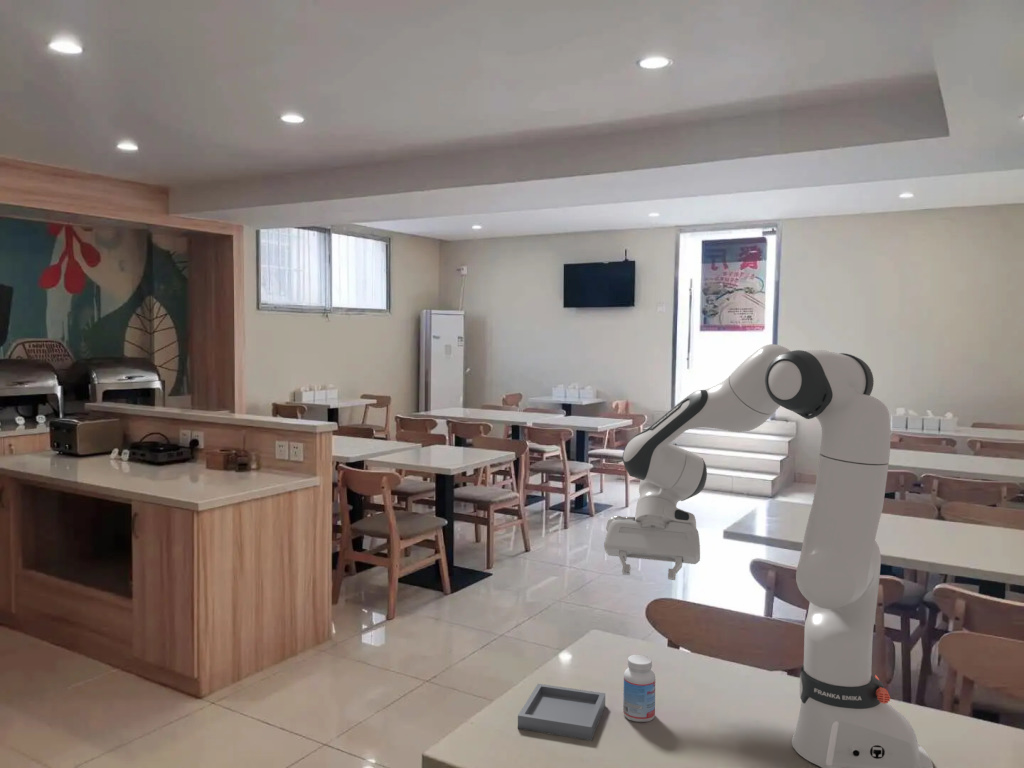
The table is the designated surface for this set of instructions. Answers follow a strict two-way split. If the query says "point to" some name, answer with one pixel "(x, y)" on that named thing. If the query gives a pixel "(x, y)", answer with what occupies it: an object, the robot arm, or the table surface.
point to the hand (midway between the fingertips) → (648, 576)
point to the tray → (562, 711)
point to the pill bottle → (639, 689)
